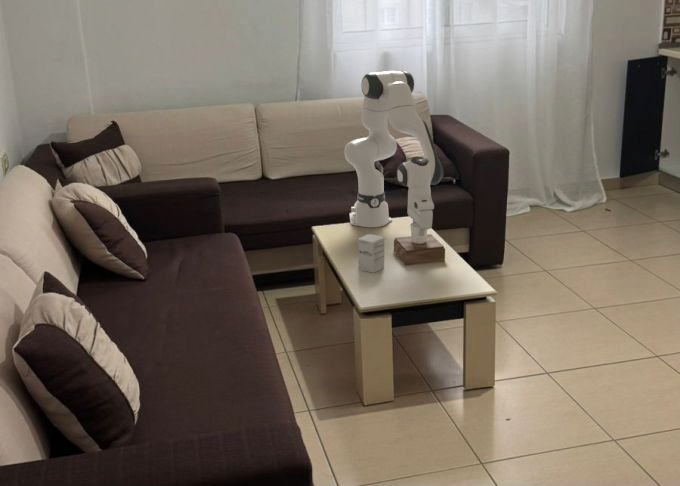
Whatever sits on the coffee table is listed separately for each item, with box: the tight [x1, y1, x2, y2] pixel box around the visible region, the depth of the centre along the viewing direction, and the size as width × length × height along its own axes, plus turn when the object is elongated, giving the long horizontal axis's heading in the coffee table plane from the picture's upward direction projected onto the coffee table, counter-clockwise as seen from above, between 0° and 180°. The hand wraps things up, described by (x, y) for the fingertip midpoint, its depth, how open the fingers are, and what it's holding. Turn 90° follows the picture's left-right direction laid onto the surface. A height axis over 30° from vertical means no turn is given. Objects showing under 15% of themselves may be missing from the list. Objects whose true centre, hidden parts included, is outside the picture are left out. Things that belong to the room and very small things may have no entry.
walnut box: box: [393, 233, 446, 266], centre depth 341 cm, size 16×16×6 cm
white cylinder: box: [410, 222, 428, 244], centre depth 339 cm, size 7×7×7 cm
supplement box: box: [358, 233, 385, 274], centre depth 329 cm, size 7×7×13 cm
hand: (418, 233), depth 339 cm, fingers closed on white cylinder, 5 cm apart
